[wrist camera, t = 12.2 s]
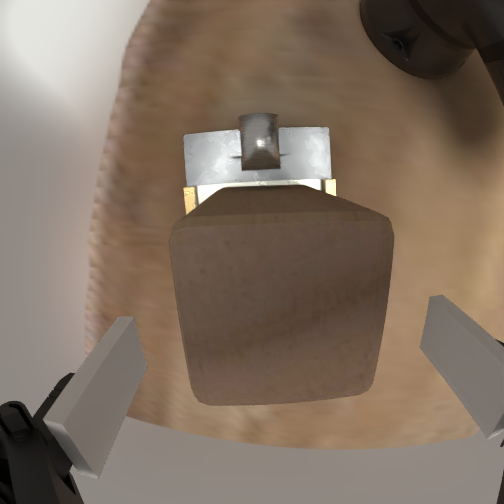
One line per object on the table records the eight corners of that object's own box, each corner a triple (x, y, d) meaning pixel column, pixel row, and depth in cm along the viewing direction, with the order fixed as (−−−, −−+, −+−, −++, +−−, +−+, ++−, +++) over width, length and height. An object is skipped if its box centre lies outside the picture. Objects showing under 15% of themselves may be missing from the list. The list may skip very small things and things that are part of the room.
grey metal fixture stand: (186, 134, 31) (161, 122, 22) (325, 127, 31) (353, 113, 22) (205, 324, 37) (193, 371, 28) (326, 316, 37) (347, 361, 28)
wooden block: (311, 275, 34) (375, 399, 15) (220, 279, 34) (191, 412, 15) (312, 183, 31) (404, 215, 12) (214, 187, 31) (160, 223, 12)
